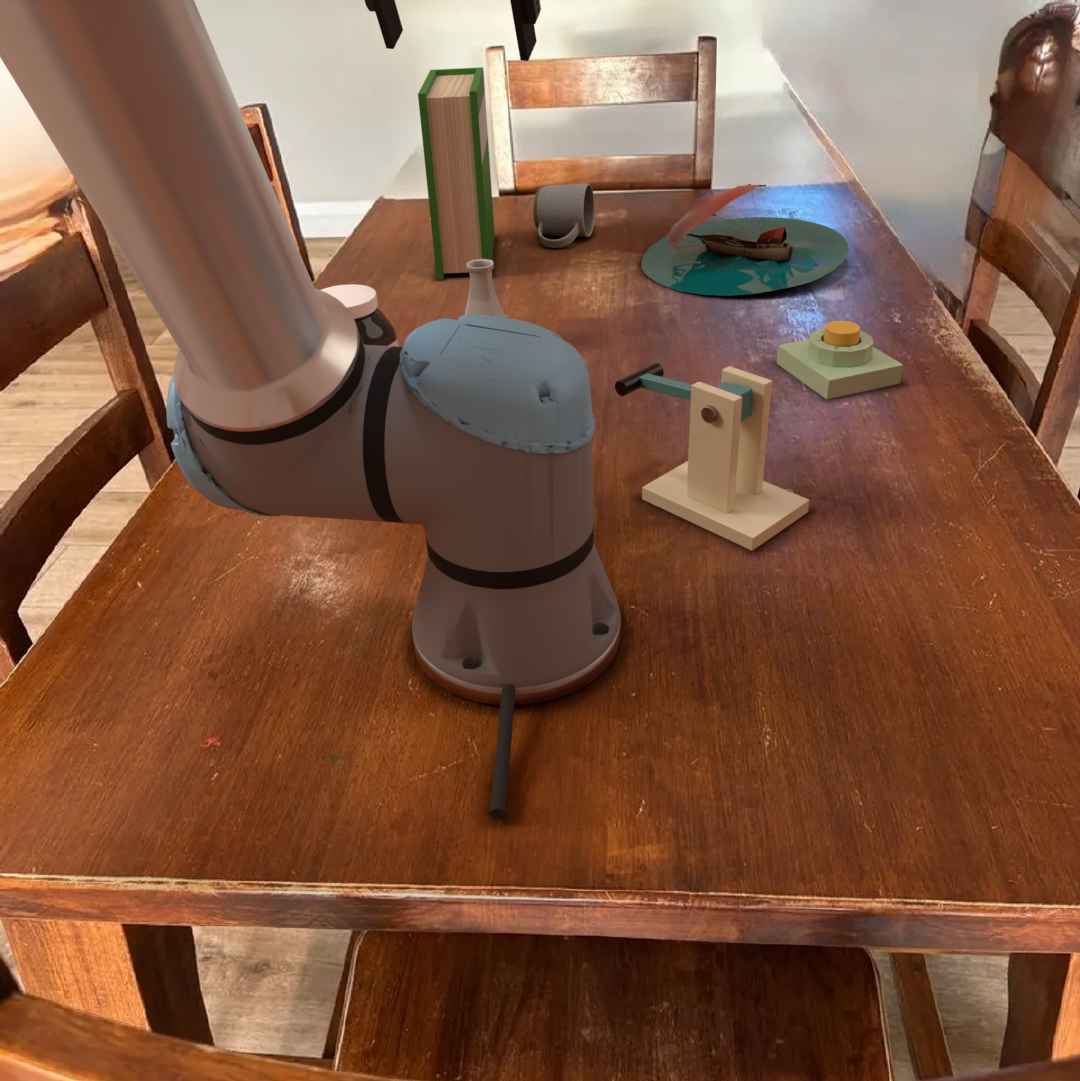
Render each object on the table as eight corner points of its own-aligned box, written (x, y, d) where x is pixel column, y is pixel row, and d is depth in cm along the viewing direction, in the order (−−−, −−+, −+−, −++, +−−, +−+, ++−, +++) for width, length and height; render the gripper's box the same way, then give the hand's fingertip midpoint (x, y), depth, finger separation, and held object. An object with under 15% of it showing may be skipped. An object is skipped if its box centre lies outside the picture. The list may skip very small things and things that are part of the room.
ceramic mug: (544, 226, 158) (542, 176, 154) (596, 228, 156) (595, 177, 152) (527, 249, 150) (524, 196, 145) (581, 251, 148) (579, 198, 143)
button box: (900, 383, 107) (906, 348, 105) (826, 399, 105) (831, 364, 102) (845, 349, 115) (850, 316, 113) (776, 363, 113) (779, 329, 110)
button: (865, 345, 107) (867, 330, 106) (835, 351, 106) (837, 335, 105) (845, 333, 110) (847, 318, 109) (816, 339, 109) (818, 324, 108)
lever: (615, 399, 89) (613, 374, 88) (652, 381, 92) (651, 356, 91) (725, 430, 81) (725, 402, 80) (763, 409, 84) (763, 382, 83)
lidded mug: (416, 398, 109) (403, 294, 103) (334, 438, 102) (314, 330, 96) (346, 371, 116) (329, 271, 109) (264, 406, 109) (241, 303, 103)
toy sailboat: (690, 223, 156) (687, 149, 150) (873, 234, 143) (878, 153, 136) (607, 295, 138) (599, 214, 131) (808, 316, 125) (810, 227, 118)
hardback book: (490, 277, 140) (476, 91, 127) (436, 279, 140) (417, 93, 127) (494, 238, 155) (483, 67, 141) (446, 240, 155) (430, 69, 141)
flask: (509, 359, 117) (503, 274, 111) (448, 356, 118) (440, 273, 112) (522, 334, 123) (517, 253, 117) (464, 332, 124) (457, 252, 118)
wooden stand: (641, 499, 90) (643, 377, 83) (698, 466, 94) (704, 348, 88) (752, 551, 83) (763, 422, 76) (808, 512, 87) (823, 387, 81)
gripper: (574, -228, 75) (598, 28, 94) (277, -232, 81) (355, 9, 100) (546, -168, 72) (576, 84, 91) (240, -178, 78) (327, 60, 97)
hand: (460, 45), depth 95 cm, fingers open, 13 cm apart
